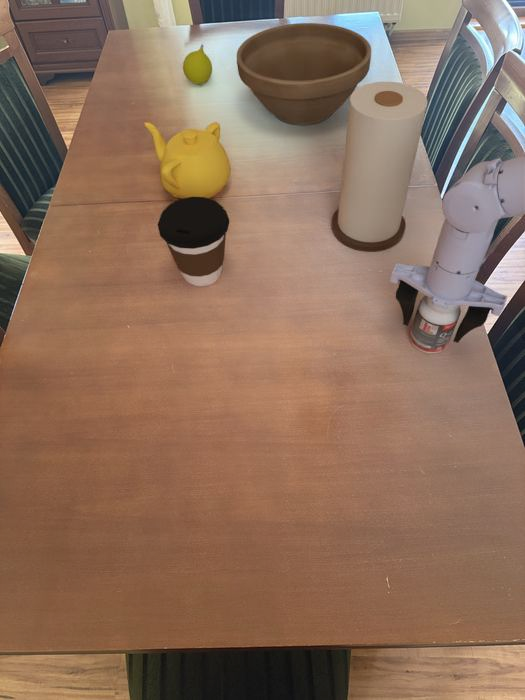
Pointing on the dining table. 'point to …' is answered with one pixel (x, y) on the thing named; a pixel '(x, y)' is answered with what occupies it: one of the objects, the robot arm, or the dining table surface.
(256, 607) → the dining table surface
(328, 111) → the flower pot
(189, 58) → the yellow-green pear
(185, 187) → the teapot
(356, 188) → the paper towel roll
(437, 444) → the dining table surface
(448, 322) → the pill bottle
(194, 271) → the coffee cup
